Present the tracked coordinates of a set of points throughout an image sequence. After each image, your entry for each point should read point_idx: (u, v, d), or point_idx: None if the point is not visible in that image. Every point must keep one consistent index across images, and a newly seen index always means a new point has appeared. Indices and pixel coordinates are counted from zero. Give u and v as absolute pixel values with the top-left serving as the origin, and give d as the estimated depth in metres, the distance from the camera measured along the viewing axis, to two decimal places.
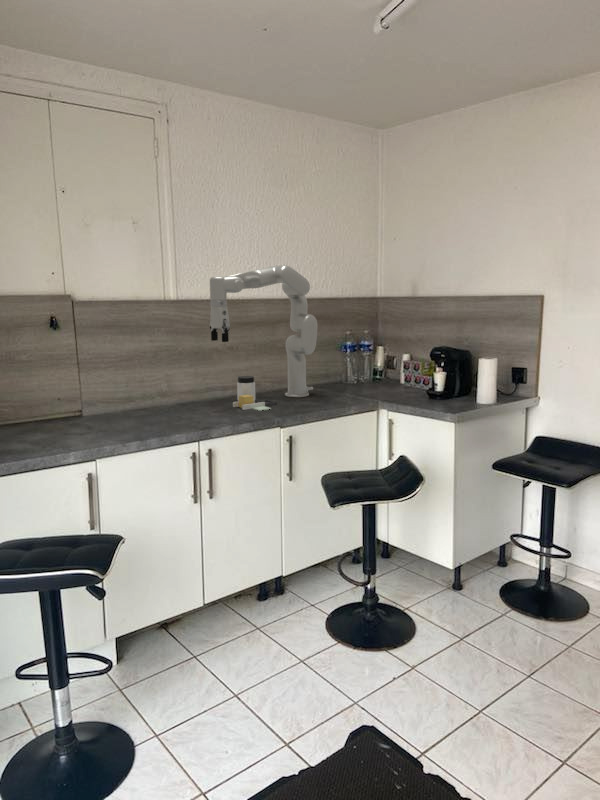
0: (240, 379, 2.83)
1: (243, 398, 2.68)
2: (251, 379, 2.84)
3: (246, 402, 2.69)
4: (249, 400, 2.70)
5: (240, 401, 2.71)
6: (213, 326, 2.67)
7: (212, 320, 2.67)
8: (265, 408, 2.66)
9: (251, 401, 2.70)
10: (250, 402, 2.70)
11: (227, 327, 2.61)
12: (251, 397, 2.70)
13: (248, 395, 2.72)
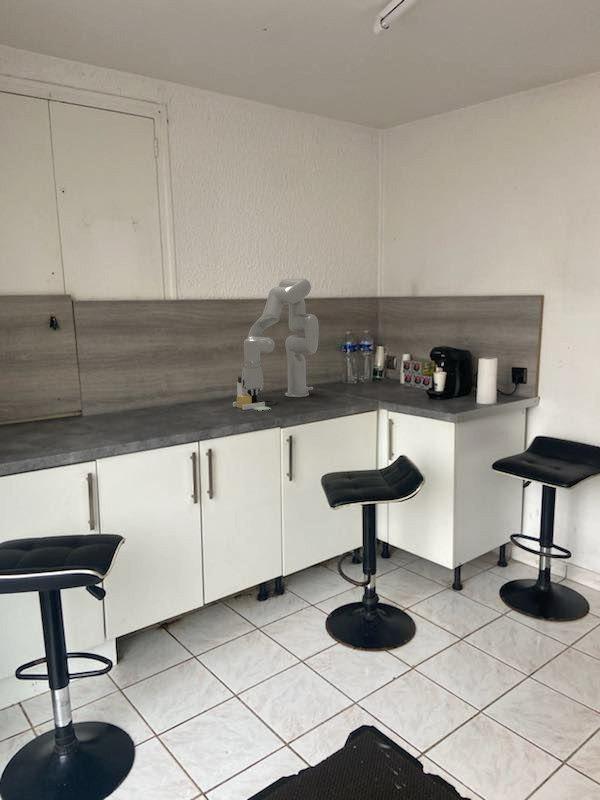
0: (240, 379, 2.83)
1: (241, 398, 2.68)
2: None
3: (244, 402, 2.68)
4: (247, 400, 2.69)
5: (238, 401, 2.70)
6: (252, 387, 2.70)
7: (251, 381, 2.69)
8: (265, 408, 2.66)
9: (249, 401, 2.70)
10: (248, 402, 2.70)
11: (260, 390, 2.75)
12: (249, 397, 2.69)
13: (246, 395, 2.72)
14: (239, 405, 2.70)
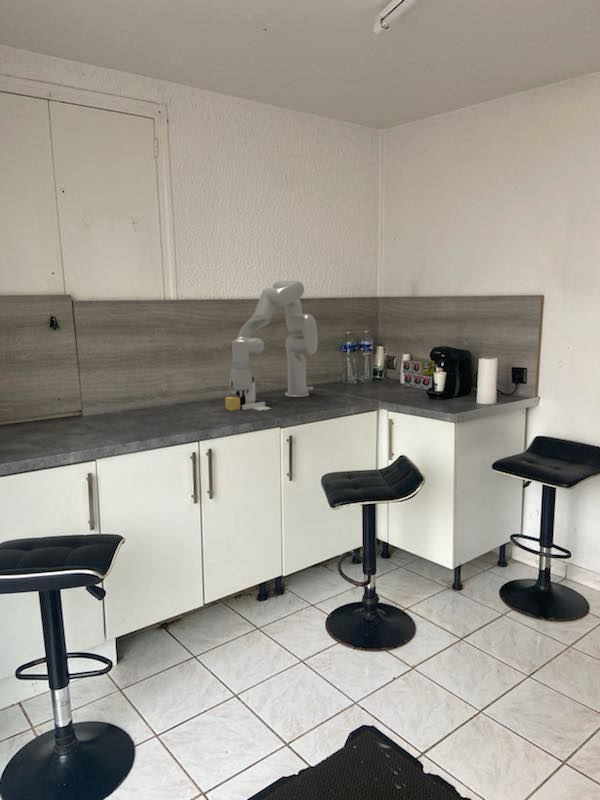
0: None
1: (229, 400, 2.64)
2: None
3: (233, 404, 2.64)
4: (235, 402, 2.65)
5: (227, 403, 2.66)
6: (240, 388, 2.66)
7: (240, 383, 2.65)
8: (265, 408, 2.66)
9: (238, 403, 2.66)
10: (237, 404, 2.66)
11: (249, 391, 2.71)
12: (238, 399, 2.66)
13: (235, 397, 2.68)
14: (227, 407, 2.66)
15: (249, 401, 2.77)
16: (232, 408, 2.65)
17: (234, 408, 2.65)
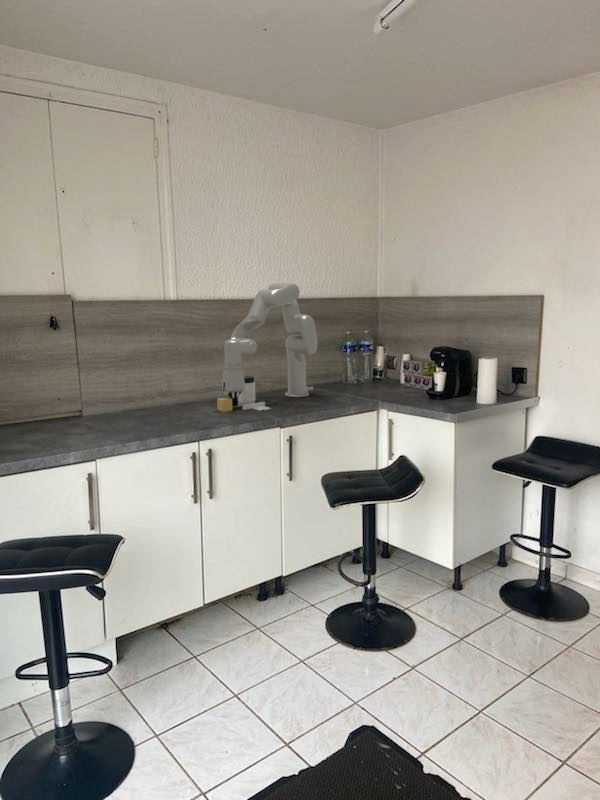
0: None
1: (221, 401, 2.61)
2: (251, 379, 2.84)
3: (224, 405, 2.62)
4: (227, 403, 2.63)
5: (218, 404, 2.64)
6: (232, 390, 2.64)
7: (232, 384, 2.63)
8: (265, 408, 2.66)
9: (230, 404, 2.64)
10: (229, 405, 2.63)
11: None
12: (230, 400, 2.63)
13: (227, 398, 2.65)
14: (219, 408, 2.64)
15: (249, 401, 2.77)
16: (224, 409, 2.62)
17: (226, 409, 2.63)
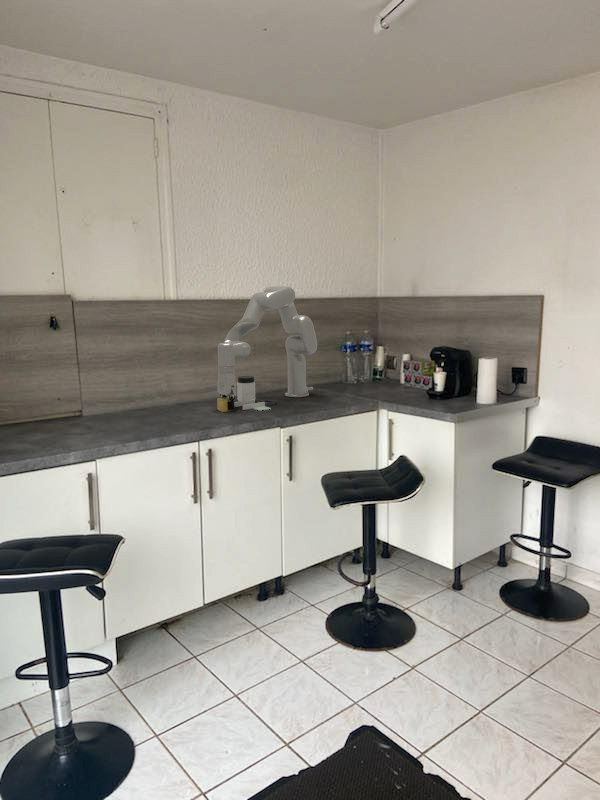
0: (240, 379, 2.83)
1: (221, 401, 2.61)
2: (251, 379, 2.84)
3: (224, 405, 2.62)
4: (227, 403, 2.63)
5: (218, 404, 2.64)
6: None
7: None
8: (265, 408, 2.66)
9: None
10: None
11: None
12: None
13: (227, 398, 2.65)
14: (219, 408, 2.64)
15: (249, 401, 2.77)
16: (224, 409, 2.62)
17: (226, 409, 2.63)
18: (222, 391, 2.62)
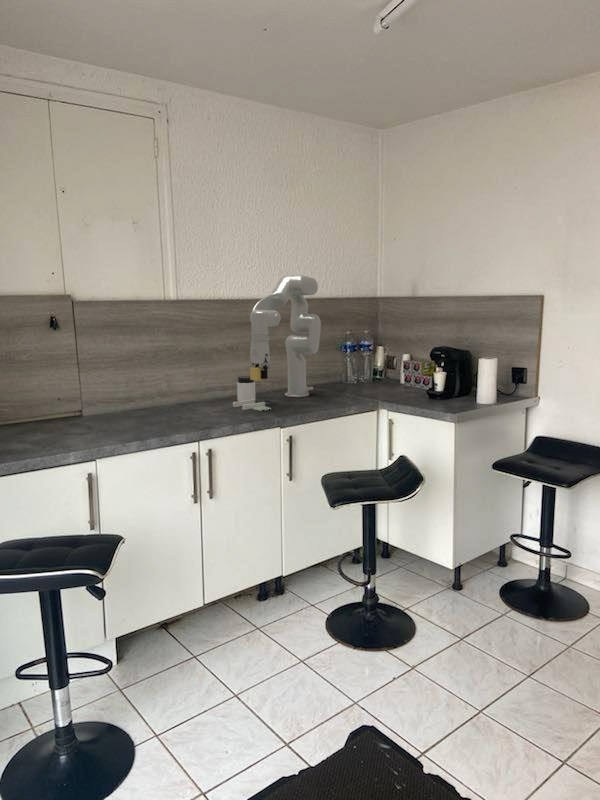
0: (240, 379, 2.83)
1: (255, 369, 2.60)
2: None
3: (258, 374, 2.60)
4: None
5: (252, 373, 2.62)
6: None
7: None
8: (265, 408, 2.66)
9: None
10: None
11: None
12: None
13: (260, 367, 2.64)
14: (252, 377, 2.62)
15: (249, 401, 2.77)
16: (257, 378, 2.60)
17: (259, 378, 2.61)
18: (255, 360, 2.61)
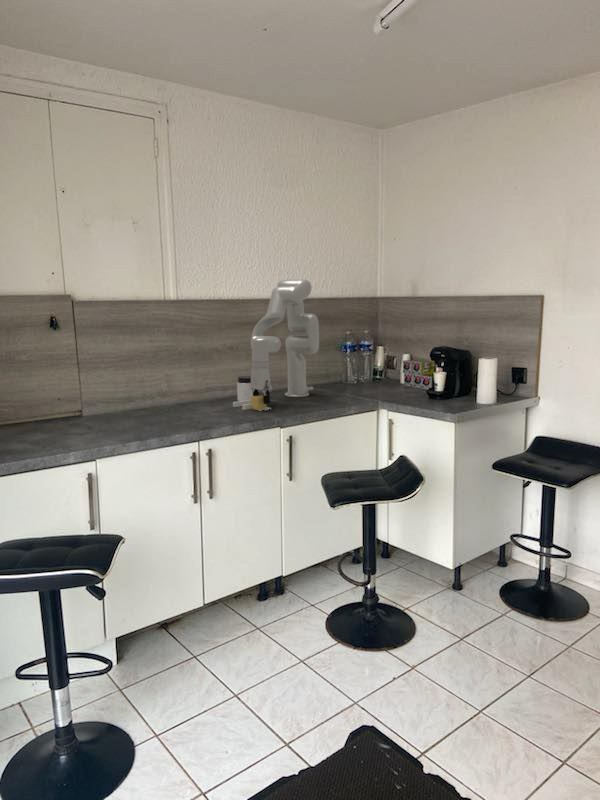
0: (240, 379, 2.83)
1: (256, 399, 2.62)
2: None
3: (259, 403, 2.63)
4: (262, 401, 2.64)
5: (253, 402, 2.65)
6: None
7: None
8: None
9: None
10: (263, 403, 2.64)
11: None
12: None
13: (261, 396, 2.66)
14: (254, 406, 2.65)
15: (249, 401, 2.77)
16: (258, 407, 2.63)
17: (260, 407, 2.64)
18: (256, 386, 2.63)
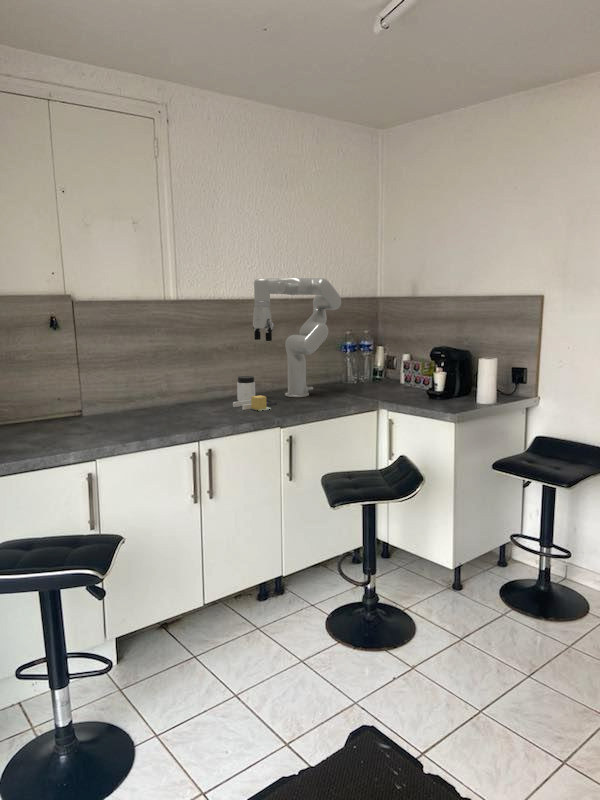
0: (240, 379, 2.83)
1: (256, 399, 2.62)
2: (251, 379, 2.84)
3: (259, 403, 2.63)
4: (262, 401, 2.64)
5: (253, 402, 2.65)
6: None
7: None
8: None
9: (264, 402, 2.65)
10: (263, 403, 2.64)
11: None
12: (264, 398, 2.64)
13: (261, 396, 2.66)
14: (254, 406, 2.65)
15: (249, 401, 2.77)
16: (258, 407, 2.63)
17: (260, 407, 2.64)
18: (258, 325, 2.77)
